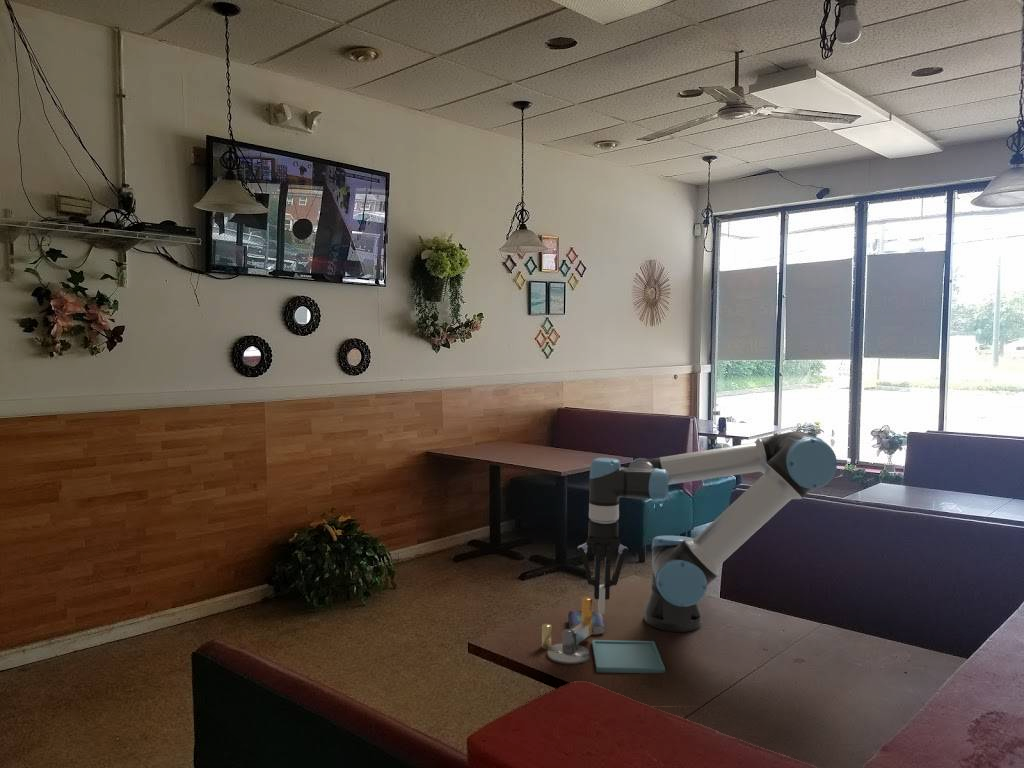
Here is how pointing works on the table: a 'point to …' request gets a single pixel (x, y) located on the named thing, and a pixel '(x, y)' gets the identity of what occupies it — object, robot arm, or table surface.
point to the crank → (584, 622)
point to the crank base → (563, 647)
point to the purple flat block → (597, 621)
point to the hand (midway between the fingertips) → (601, 611)
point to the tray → (627, 656)
